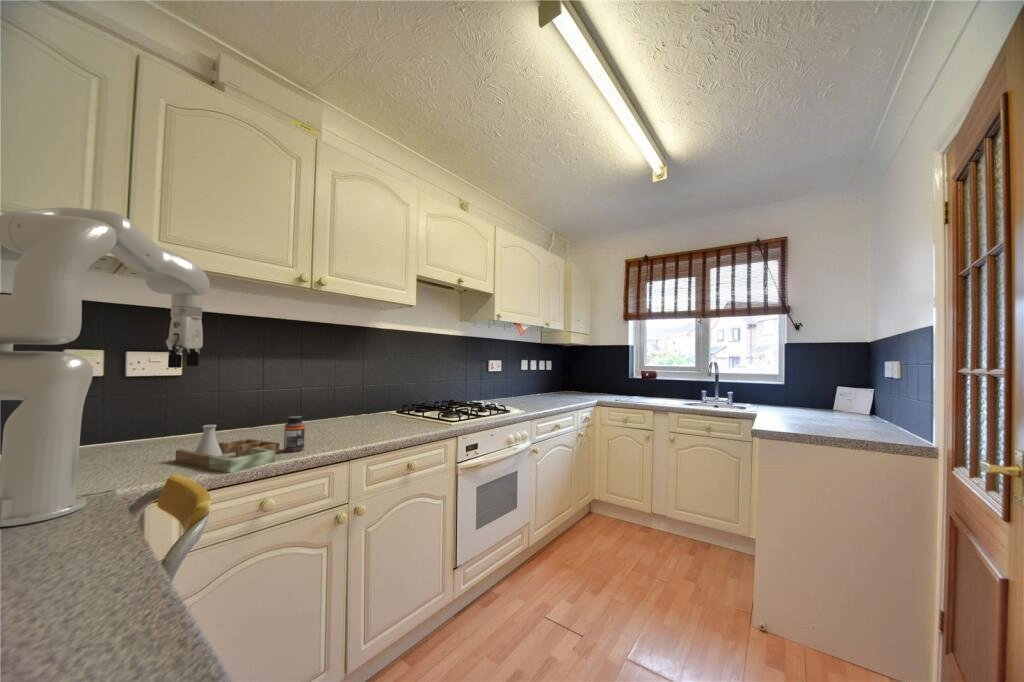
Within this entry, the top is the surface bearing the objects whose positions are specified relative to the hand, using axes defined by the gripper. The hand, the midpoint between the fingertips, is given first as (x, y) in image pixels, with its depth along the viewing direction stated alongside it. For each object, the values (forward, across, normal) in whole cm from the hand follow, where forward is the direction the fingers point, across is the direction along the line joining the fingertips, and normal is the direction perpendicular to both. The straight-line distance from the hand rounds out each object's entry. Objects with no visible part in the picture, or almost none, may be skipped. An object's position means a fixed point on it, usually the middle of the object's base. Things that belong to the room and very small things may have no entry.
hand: (184, 366), depth 118 cm
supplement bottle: (+28, -2, -33) cm, 43 cm away
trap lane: (+27, -10, -20) cm, 35 cm away
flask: (+28, -7, -11) cm, 31 cm away
